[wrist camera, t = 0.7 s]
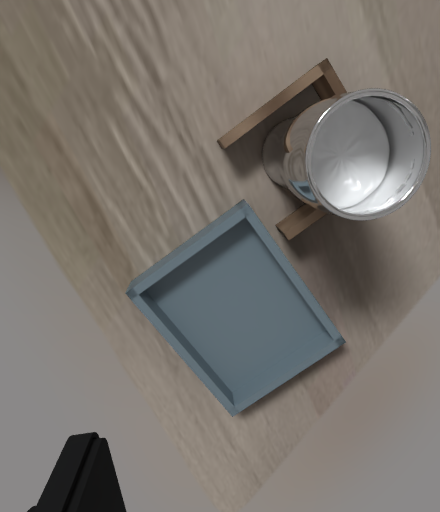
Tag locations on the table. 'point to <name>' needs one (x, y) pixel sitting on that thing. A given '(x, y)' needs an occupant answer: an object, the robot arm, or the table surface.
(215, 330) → the slate tray
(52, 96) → the table surface
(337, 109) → the silver metal cup
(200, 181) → the table surface
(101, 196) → the table surface
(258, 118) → the walnut bay
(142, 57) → the table surface
